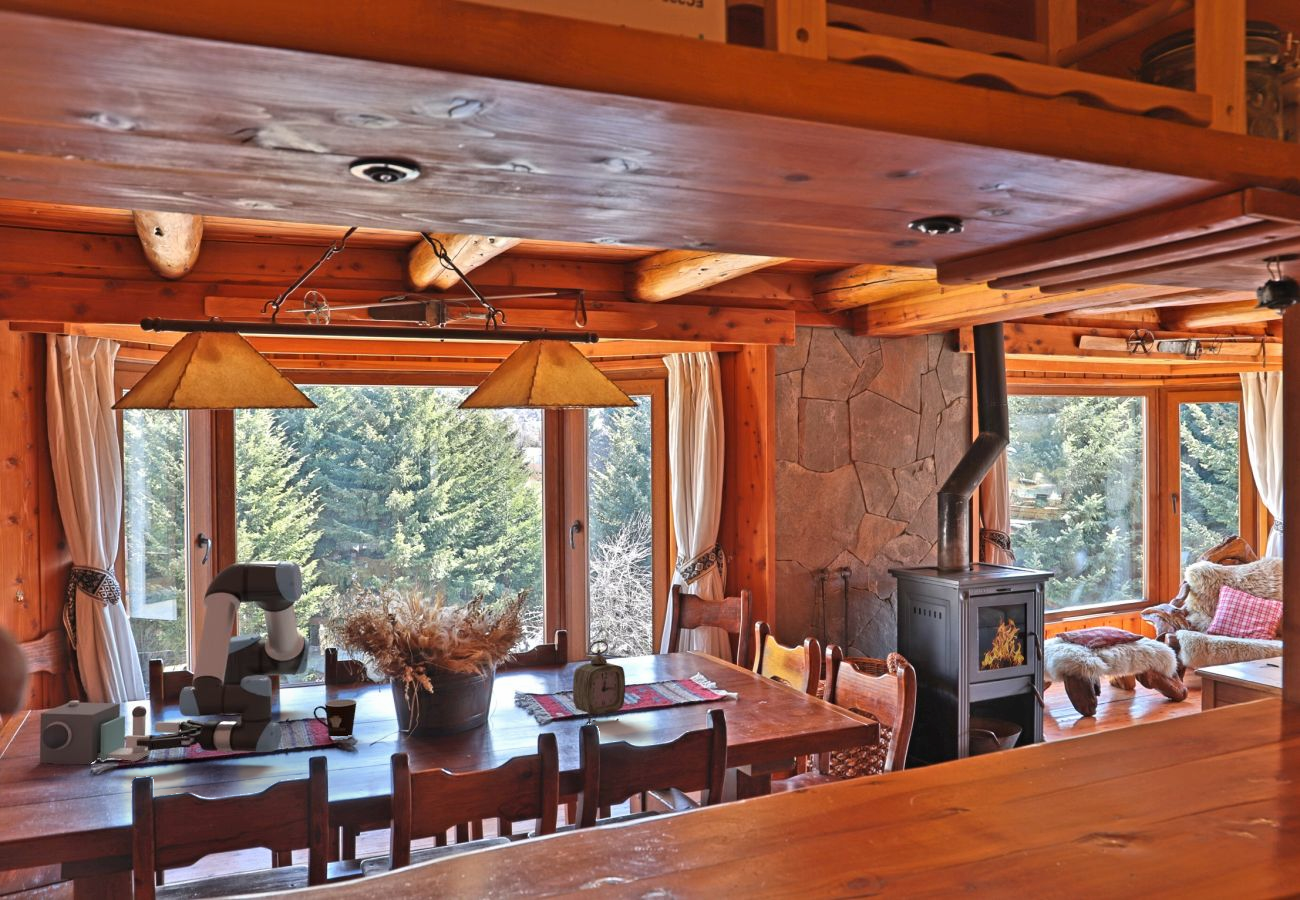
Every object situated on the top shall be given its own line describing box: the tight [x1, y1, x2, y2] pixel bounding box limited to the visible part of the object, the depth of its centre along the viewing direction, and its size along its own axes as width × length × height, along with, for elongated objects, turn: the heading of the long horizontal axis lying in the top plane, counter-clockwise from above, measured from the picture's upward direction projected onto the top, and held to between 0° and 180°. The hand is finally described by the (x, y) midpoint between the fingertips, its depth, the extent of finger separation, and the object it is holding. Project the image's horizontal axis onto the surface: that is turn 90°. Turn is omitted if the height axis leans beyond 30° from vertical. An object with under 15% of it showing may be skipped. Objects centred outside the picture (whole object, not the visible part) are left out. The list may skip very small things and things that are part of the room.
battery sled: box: [98, 705, 151, 761], centre depth 265 cm, size 19×9×14 cm, turn 87°
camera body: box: [39, 700, 121, 766], centre depth 264 cm, size 14×14×14 cm
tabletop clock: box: [572, 640, 626, 725], centre depth 307 cm, size 14×9×25 cm, turn 131°
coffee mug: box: [313, 698, 357, 737], centre depth 288 cm, size 12×9×10 cm
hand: (141, 733), depth 264 cm, fingers open, 13 cm apart
